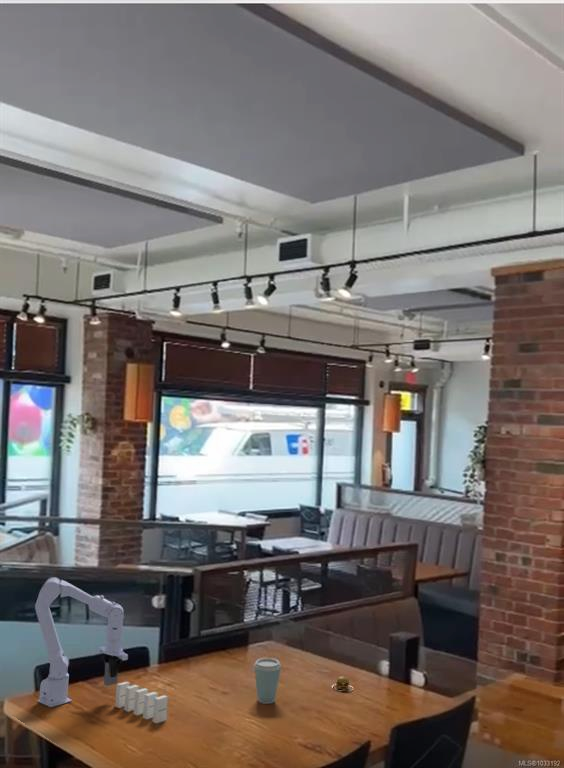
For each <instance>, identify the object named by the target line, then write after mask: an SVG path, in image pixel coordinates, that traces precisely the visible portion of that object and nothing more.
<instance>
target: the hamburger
mask: <svg viewBox="0 0 564 768" xmlns="http://www.w3.org/2000/svg"><path fill="white" fill-rule="evenodd" d="M349 680H350V679H349V678H348V677H346V676H343V675H340V676H338V677H337V678H336V680H335V683H334V684H332V685H331V689H333V686H334V685H336V686H335V688H334V691H337V690H338V689H341V690H338V691H337V692H340V691H348V690H349V686H350V687H352V688H353V689H352V690H351V689H350V690H349V692H351V691H353V690H354V687H353V686H352V685H350V682H349Z"/></svg>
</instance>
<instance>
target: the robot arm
mask: <svg viewBox="0 0 564 768" xmlns="http://www.w3.org/2000/svg"><path fill="white" fill-rule="evenodd" d="M59 595H60V596H59ZM58 597H60V598H64V597H71V598H73V599H75V600H77V601H79V602H82V603H84V604H86V605H87V606H88V609H89V611H93V612H94V613H95V614H98V615H100V616H101V617H104V618H107V619H108V621H107V622H108V624H107V626H106V638H105V646H103V645H102V646H99V647H98V653H102V654H104V655H102V656H101V658H100V659H101V660H102V662H103V665H104V666H105V662H110V668H111V670H110V674H111V677H116V675H117V672H118V673H119V668H120V667H121V664H122V663H123V661H127V660H128V659H129V654H127V653H125V652H124V649H123V648H122V642H123V641H122V640H123V626H124V625H123V623H124V619H125V614H124V613H125V612H124V607H122V605H120V604H119V603H116V602H115V601H110V600H108V599H106V598H105V596H104V595H98V594H96V595H91V594H89V593H88V592H85V591H84V590H82V589H81V588H78V587H77V586H75V585H73V584H72V583H69V582H68V581H66V580H63V579H59V578H58V577H54V576H52V577H49V578H48V579H47V580H46V581H45V582H44V583H43V585H42V586H41V589H40V590H39V593H38V597H37V600H36V602H35V606H34V610H35V612H36V613H35V614H36V617H37V620H38V623H39V626H40V629H41V633H42V637H43V639H44V643H45V646H46V650H47V654H48V660H49V661H48V662H49V664H50V665H49V673H48V676H47V677H46V678H45V679H43V680H42V681H41V682H40V686H39V697H38V700H37V702H38V703H40V704H42V705H45V706H47V707H49V708H53V707H56V706H60V705H64V704H67V703H71V702H73V699H72V698H69V697H68V691H69V678H70V674H69V673H68V669H69V668H68V667H69V664H70V659H69V657H68V656H67V655H66V654H65V652H64V649H63V648H62V646H61V641H60V638H59V635H58V632H57V629H56V625H55V621H54V617H53V614H52V611H51V609H50V607H51V605H52V603H53V601H55V599H57V598H58Z"/></svg>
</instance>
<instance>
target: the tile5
mask: <svg viewBox="0 0 564 768" xmlns="http://www.w3.org/2000/svg"><path fill="white" fill-rule="evenodd" d="M156 697H159V692H156V691H151V692H148V694H145V696H144V710H143V714H142V718H143V719H145V720H150V719H151V718H152V719H153V710H154V698H156Z"/></svg>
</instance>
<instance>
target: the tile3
mask: <svg viewBox="0 0 564 768" xmlns="http://www.w3.org/2000/svg"><path fill="white" fill-rule="evenodd" d="M136 690H140V686H139V685H138V684H132V685H130V686H129V687H126V692H125V706H124V709H123V710H124V711H125V712H131V711H134V699H135V691H136Z"/></svg>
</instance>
